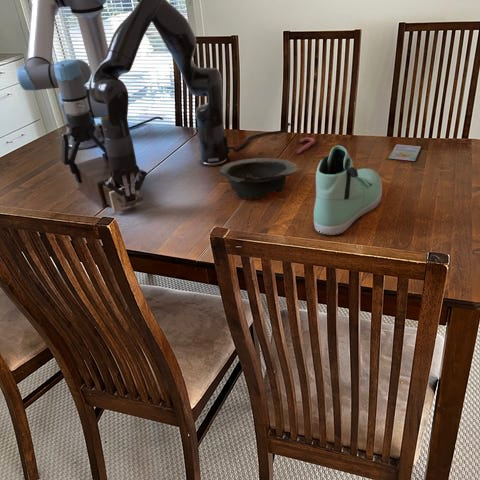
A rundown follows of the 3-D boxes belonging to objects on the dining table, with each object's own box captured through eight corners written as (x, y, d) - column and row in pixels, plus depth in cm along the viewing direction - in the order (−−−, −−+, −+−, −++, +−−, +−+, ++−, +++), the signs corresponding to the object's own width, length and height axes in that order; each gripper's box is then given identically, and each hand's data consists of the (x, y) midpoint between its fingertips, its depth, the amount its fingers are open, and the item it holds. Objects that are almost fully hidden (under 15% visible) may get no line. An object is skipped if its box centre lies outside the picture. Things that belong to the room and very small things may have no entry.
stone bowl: (243, 213, 140) (240, 183, 136) (209, 189, 160) (205, 162, 156) (313, 190, 149) (312, 161, 144) (272, 170, 169) (270, 144, 165)
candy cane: (285, 152, 180) (284, 148, 179) (304, 139, 190) (304, 135, 189) (299, 154, 177) (299, 151, 176) (318, 141, 187) (318, 137, 186)
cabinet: (131, 197, 156) (126, 173, 151) (102, 207, 151) (96, 182, 146) (106, 179, 170) (101, 156, 165) (79, 187, 165) (72, 164, 161)
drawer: (150, 209, 145) (146, 189, 142) (123, 219, 141) (118, 199, 137) (115, 185, 163) (111, 166, 159) (90, 193, 158) (85, 174, 155)
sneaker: (389, 187, 148) (396, 123, 138) (356, 242, 123) (361, 168, 112) (346, 181, 154) (350, 119, 144) (306, 232, 129) (307, 161, 118)
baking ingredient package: (388, 157, 167) (396, 143, 178) (388, 158, 167) (396, 144, 179) (414, 160, 163) (421, 145, 175) (414, 161, 164) (421, 147, 175)
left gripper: (46, 123, 144) (65, 190, 155) (115, 106, 155) (129, 170, 166) (38, 118, 149) (57, 183, 161) (106, 102, 160) (119, 164, 172)
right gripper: (103, 160, 128) (116, 217, 137) (147, 147, 135) (157, 202, 144) (92, 153, 133) (105, 208, 143) (135, 140, 140) (145, 194, 149)
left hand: (94, 176), depth 163 cm, fingers closed on cabinet, 10 cm apart
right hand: (131, 204), depth 143 cm, fingers closed
